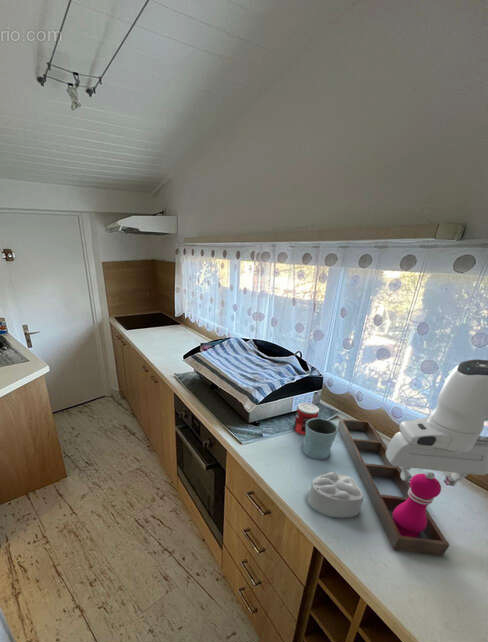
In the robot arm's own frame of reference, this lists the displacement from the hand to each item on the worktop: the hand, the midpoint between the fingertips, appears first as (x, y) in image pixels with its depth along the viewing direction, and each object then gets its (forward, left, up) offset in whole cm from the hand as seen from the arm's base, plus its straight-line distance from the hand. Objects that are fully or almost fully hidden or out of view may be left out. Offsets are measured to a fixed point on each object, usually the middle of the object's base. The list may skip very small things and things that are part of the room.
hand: (426, 481), depth 73 cm
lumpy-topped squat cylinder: (+17, -6, -18) cm, 25 cm away
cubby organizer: (0, -20, -17) cm, 27 cm away
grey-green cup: (+17, -30, -17) cm, 39 cm away
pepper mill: (0, 0, -18) cm, 18 cm away
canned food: (+19, -44, -17) cm, 51 cm away
